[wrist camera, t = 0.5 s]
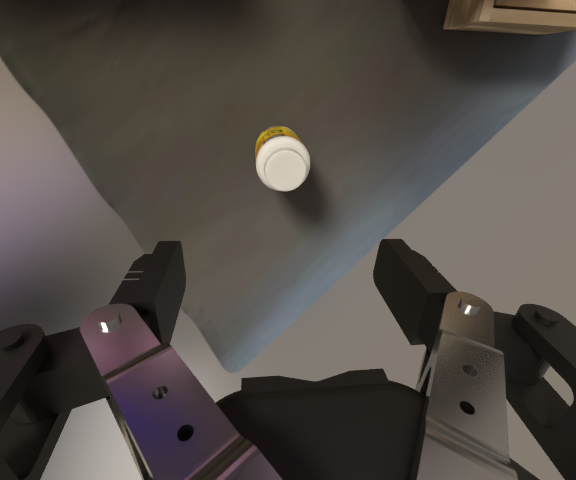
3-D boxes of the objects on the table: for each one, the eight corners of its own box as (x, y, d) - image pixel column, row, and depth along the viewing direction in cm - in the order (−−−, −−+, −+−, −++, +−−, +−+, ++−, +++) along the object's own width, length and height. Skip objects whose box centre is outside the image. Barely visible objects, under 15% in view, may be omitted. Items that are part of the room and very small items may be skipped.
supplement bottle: (279, 114, 36) (290, 127, 27) (308, 150, 38) (327, 173, 29) (244, 146, 37) (243, 169, 28) (274, 179, 39) (282, 210, 30)
